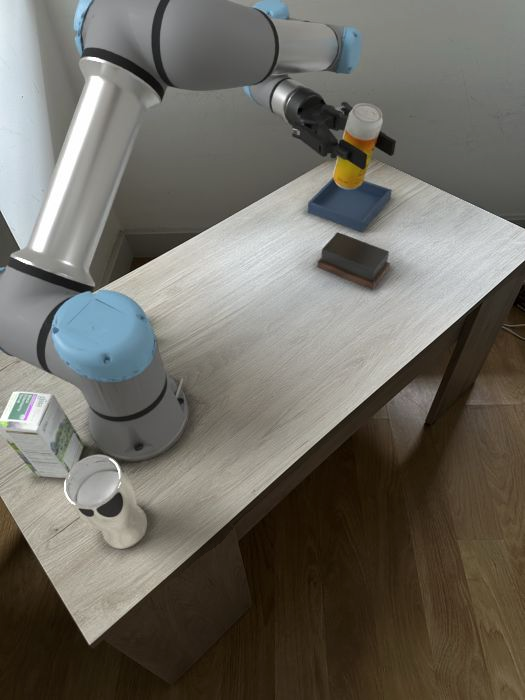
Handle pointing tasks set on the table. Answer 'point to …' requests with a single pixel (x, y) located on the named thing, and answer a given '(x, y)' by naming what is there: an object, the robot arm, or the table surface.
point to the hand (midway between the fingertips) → (379, 155)
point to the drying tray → (350, 204)
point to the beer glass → (106, 500)
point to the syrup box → (41, 434)
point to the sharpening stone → (354, 260)
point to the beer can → (358, 143)
